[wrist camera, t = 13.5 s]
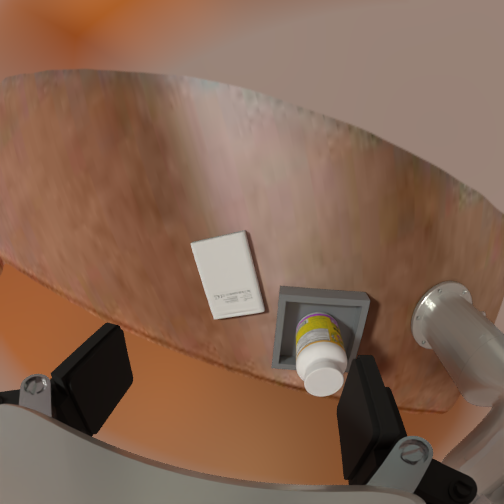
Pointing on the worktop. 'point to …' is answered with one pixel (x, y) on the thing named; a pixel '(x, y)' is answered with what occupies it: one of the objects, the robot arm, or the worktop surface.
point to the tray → (310, 301)
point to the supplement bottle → (320, 354)
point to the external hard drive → (228, 275)
